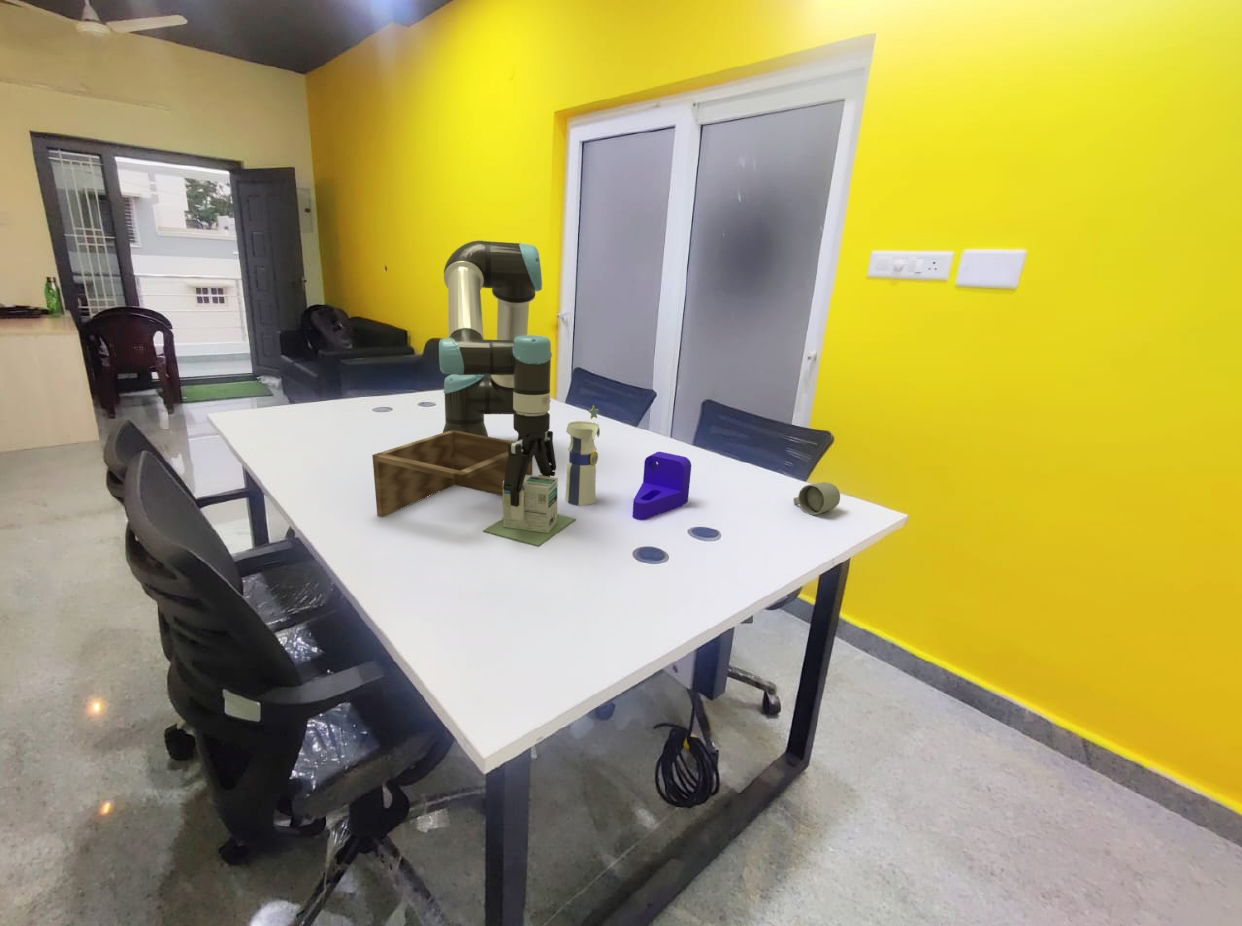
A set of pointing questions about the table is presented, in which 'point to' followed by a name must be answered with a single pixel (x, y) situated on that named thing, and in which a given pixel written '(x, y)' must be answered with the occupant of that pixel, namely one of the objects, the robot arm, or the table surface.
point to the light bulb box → (534, 505)
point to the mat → (529, 536)
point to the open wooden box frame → (439, 468)
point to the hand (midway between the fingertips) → (530, 510)
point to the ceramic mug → (818, 498)
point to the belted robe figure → (582, 462)
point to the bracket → (662, 485)
